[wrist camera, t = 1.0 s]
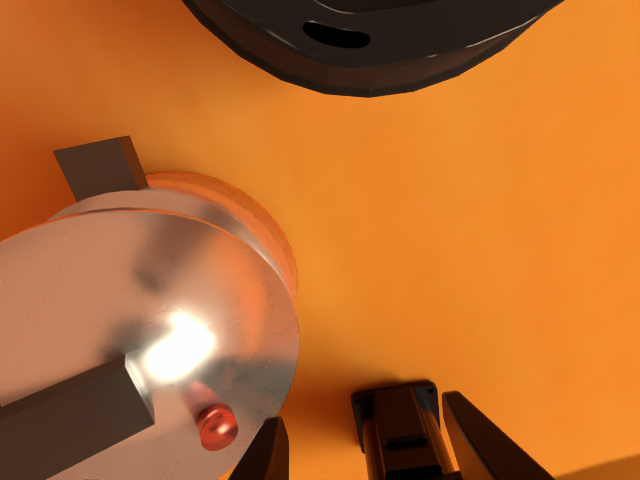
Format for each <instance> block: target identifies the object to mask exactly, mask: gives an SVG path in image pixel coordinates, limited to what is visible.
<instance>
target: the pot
mask: <svg viewBox="0 0 640 480" xmlns="http://www.w3.org/2000/svg"><path fill="white" fill-rule="evenodd" d="M53 152H54V154H55V156H56V159H57V161H58V163H59V165H60V167H61V169H62V171H63V173H64V175H65V177H66V179H67V181H68V184H69V186H70V188H71V190H72V192H73V194H74V196H75V198H76V200H77V203H75V204H73V205H70V206H68V207H66V208H64V209H62V210H61V211H59V212H58V213H56V214H55V215H53V216H52V217H50V218H49V219H48V220H47V221H50V220H53V219H56V218H59V217H62V216H66V215H71V214H76V213H81V212H86V211H90V210H98V209H109V208H120V207H131V208H154V209H161V210H169V211H175V212H179V213H183V214H187V215H191V216H195V217H198V218H201V219H203V220H206V221H208V222H211V223H213V224H216V225H218V226H220V227H222V228H224V229H226V230H227V231H229V232H231V233H233V234H235V235H236V236H238V237H239V238H240V239H242V240H243V241H244V242H246V243H247V244H248V245H250V246H251V247H252V248H253V249H254V250H256V251H257V252H258V253H259V254H260V255H261V256H262V257H263V258H264V259H265V260H266V261H267V262H268V263H269V264H270V265H271V266H272V267H273V269H274V270H275V272H276V273H277V274H278V276H279V277H280V278H281V280H282V281H283V283H284V285H285V287H286V289H287V291H288V293H289V295H290V297H291V300H292V302H293V305H295V297H296V289H297V271H296V265H295V259H294V256H293V253H292V250H291V247H290V245H289V243H288V241H287V239H286V236H285V234H284V233H283V231H282V230H281V228H280V227H279V225H278V224H277V222H276V221H275V220H274V219H273V218H272V216H271V215H270V214H269V213H268V212H267V211H266V210H265V209H264V208H263V207H262V206H261V205H260V204H259V203H257V202H256V201H255V200H254V199H252V198H251V197H249V196H248V195H247V194H245V193H244V192H242V191H240V190H239V189H237V188H235V187H233V186H231V185H229V184H227V183H225V182H222V181H220V180H217V179H215V178H211V177H207V176H204V175H200V174H194V173H186V172H162V173H154V174H149V175H145V174H144V172H143V169H142V167H141V164H140V162H139V159H138V156H137V154H136V151H135V149H134V146H133V144H132V141H131V138H130V136H124V137H118V138H113V139H108V140H103V141H99V142H94V143H89V144H84V145H79V146H75V147H70V148H65V149H60V150H55V151H53ZM47 221H46V222H47Z"/></svg>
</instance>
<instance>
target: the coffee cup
mask: <svg viewBox="0 0 640 480" xmlns="http://www.w3.org/2000/svg"><path fill="white" fill-rule="evenodd" d="M182 1H183V3H184V4H185V5H186V6H187V7H188V9H189V10H190V11H191V12H192V14H193V15H194V16H195V17H196V18H197V20H198V21H199V22H200V23H201V24H202V25H204V26H205V27H206V28H207V29H208V30H209V31H211V32H212V33H213V34H214V35H215V36H216V37H218V38H219V39H220V40H221V41H222V42H223V43H225V44H226V45H227V46H228V47H229V48H230V49H232V50H233V51H234V52H235V53H236V54H237V55H239V56H240V57H242V58H243V59H245V60H247V61H249V62H250V63H252V64H254V65H256V66H257V67H259V68H261V69H263V70H264V71H266V72H268V73H270V74H271V75H273V76H275V77H277V78H278V79H280V80H282V81H285V82H288V83H291V84H295V85H298V86H301V87H304V88H307V89H310V90H313V91H317V92H320V93H323V94H330V95H342V96H354V97H366V98H370V97H378V96H385V95H392V94H400V93H407V92H414V91H417V90H419V89H422V88H425V87H428V86H431V85H434V84H437V83H439V82H442V81H445V80H448V79H451V78H454V77H456V76H459V75H460V74H462V73H464V72H466V71H467V70H469V69H471V68H473V67H474V66H476V65H478V64H479V63H481V62H483V61H485V60H486V59H488V58H490V57H491V56H493V55H495V54H497V53H498V52H500V51H502V50H503V49H504V48H505V47H507V46H508V45H509V44H510V43H511V42H512V41H514V40H515V39H516V38H517V37H518V36H519V35H521V34H522V33H523V32H524V31H525V30H527V29H528V28H529V27H530V26H531V25H532V24H534V23H535V22H536V21H537V20H538V19H539V18H541V17H542V16H543V15H544V14H545V13H546V12H548V11H549V10H551V9H552V8H554V7H555V6H557V5H558V4H560V3H561V2H563V1H564V0H182Z"/></svg>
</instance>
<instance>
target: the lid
mask: <svg viewBox="0 0 640 480" xmlns="http://www.w3.org/2000/svg"><path fill="white" fill-rule="evenodd" d="M298 352H299V327H298V322H297V316H296V311H295V308H294V305H293V302H292V300H291V297H290V295H289V293H288V291H287V289H286V287H285V285H284V283H283V281H282V280H281V278H280V277H279V276H278V274H277V273H276V272H275V270H274V269H273V267H272V266H271V265H270V264H269V263H268V262H267V261H266V260H265V259H264V258H263V257H262V256H261V255H260V254H259V253H258V252H257V251H256V250H254V249H253V248H252V247H251V246H250V245H248V244H247V243H246V242H244V241H243V240H242V239H240V238H239V237H238V236H236V235H235V234H233V233H231V232H229V231H227V230H226V229H224V228H222V227H220V226H218V225H216V224H213V223H211V222H208V221H206V220H203V219H201V218H198V217H195V216H191V215H187V214H183V213H179V212H175V211H169V210H161V209H154V208H131V207H120V208H109V209H98V210H90V211H86V212H81V213H76V214H71V215H66V216H62V217H59V218H56V219H53V220H50V221H47V222H44V223H41V224H38V225H34V226H32V227H30V228H28V229H25V230H23V231H21V232H19V233H17V234H15V235H12V236H10V237H8V238H6V239H4V240H2V241H1V242H0V480H217V479H218V478H219V477H221V476H222V475H223V474H224V473H226V472H227V471H228V470H229V469H231V468H232V467H233V466H234V465H235V464H236V463H237V462H238V461H239V460H240V459H241V457H242V456H243V454H244V452H245V451H246V449H247V448H248V446H249V444H250V443H251V441H252V439H253V438H254V436H255V435H256V433H257V431H258V430H259V428H260V427H261V425H262V423H263V422H264V420H265V419H266V418H268V417H273V416H277V414H278V412H279V411H280V409H281V407H282V405H283V403H284V401H285V399H286V397H287V395H288V392H289V390H290V387H291V384H292V381H293V378H294V375H295V370H296V366H297V361H298Z"/></svg>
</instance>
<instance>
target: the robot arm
mask: <svg viewBox="0 0 640 480" xmlns="http://www.w3.org/2000/svg"><path fill="white" fill-rule="evenodd" d="M430 388H431V389H430ZM351 403H352V408H353V412H354V417H355V422H356V427H357V431H358V436H359V441H360V446H361V450H362V453H364V454H365V456H366V464H367V471H368V479H369V480H556V479H555V478H554V477H552V476H551V475H550V474H549V473H548V472H547V471H546V470H545V469H544V468H543V467H541V466H540V465H539V464H538V463H537V462H536V461H535V460H534V459H533V458H532V457H530V456H529V455H528V454H527V453H526V452H525V451H524V450H523V449H522V448H520V447H519V446H518V445H517V444H516V443H515V442H514V441H513V440H512V439H511V438H509V437H508V436H507V435H506V434H505V433H504V432H503V431H502V430H501V429H500V428H498V427H497V426H496V425H495V424H494V423H493V422H492V421H491V420H490V419H489V418H487V417H486V416H485V415H484V414H483V413H482V412H481V411H480V410H479V409H477V408H476V407H475V406H474V405H473V404H472V403H471V402H470V401H469V400H468V399H466V398H465V397H464V396H463V395H462V394H461V393H460V392H458V391H448V392H443V393H442V407H443V417H444V421H445V425H446V428H447V431H448V434H449V437H450V441H451V444H452V447H453V450H454V453H455V456H456V459H457V462H458V466H459V469H460V470H459V471H455V470H454V468H453V465H452V462H451V459H450V457H449V454H448V451H447V448H446V446H445V443H444V440H443V438H442V435H441V431H440V418H439V405H438V393H437V388H436V385H435V383H433V382H423V383H416V384H409V385H402V386H395V387H388V388H381V389H374V390H367V391H361V392H355V393H353V394H352V395H351ZM228 480H289V440H288V435H287V432H286V429H285V426H284V422H283V419H282V418H281V416H273V417H268V418H266V419H265V420H264V422H263V423H262V425H261V427H260V428H259V430H258V431H257V433H256V435H255V436H254V438H253V439H252V441H251V443H250V444H249V446H248V448H247V449H246V451H245V452H244V454H243V456H242V457H241V459H240V460H239V462H238V464H237V465H236V467H235V469H234V470H233V472H232V473H231V475H230V477H229V478H228Z"/></svg>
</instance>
